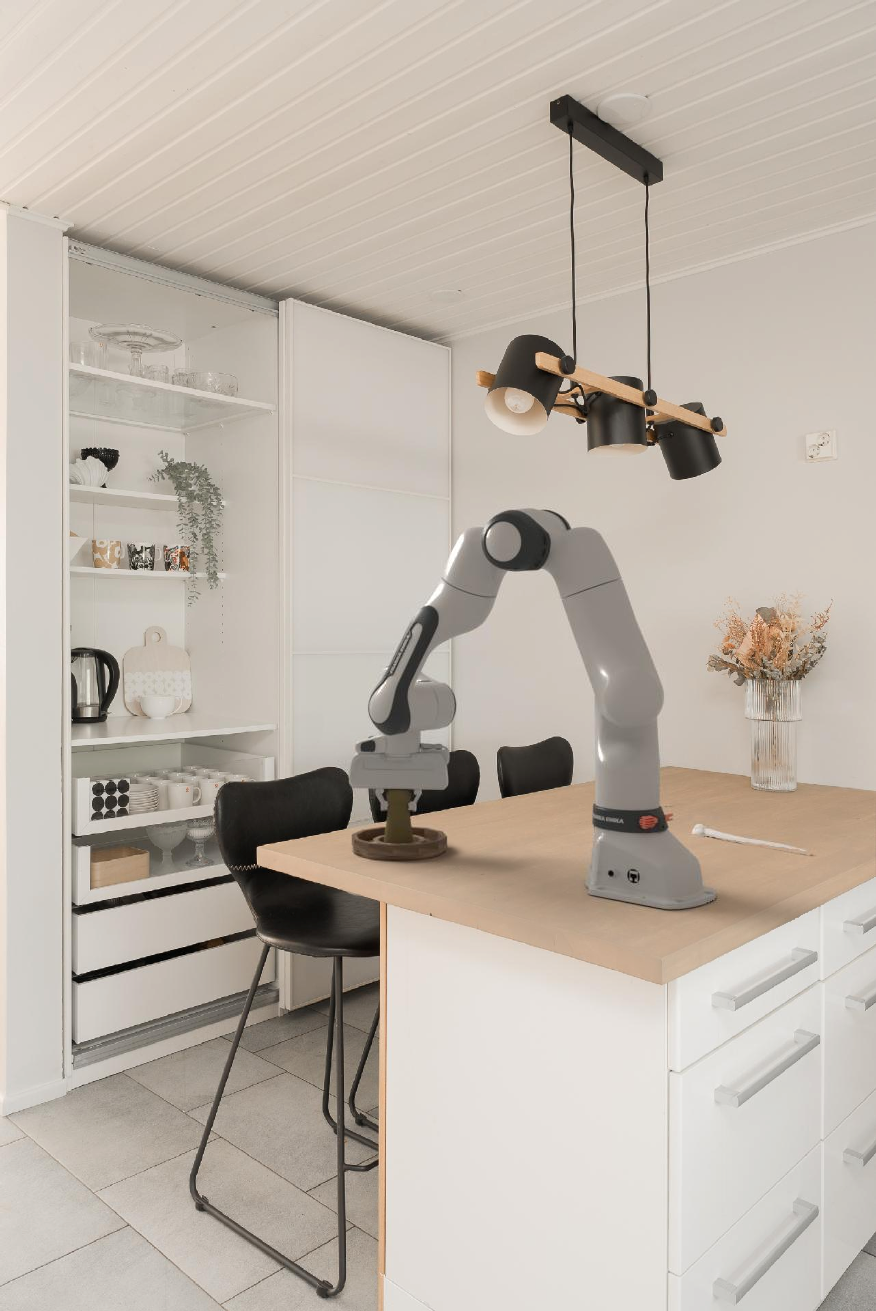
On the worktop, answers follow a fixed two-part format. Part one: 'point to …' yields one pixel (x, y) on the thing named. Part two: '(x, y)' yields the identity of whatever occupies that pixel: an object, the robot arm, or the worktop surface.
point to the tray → (399, 845)
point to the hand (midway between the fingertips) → (398, 810)
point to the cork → (398, 817)
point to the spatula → (734, 837)
